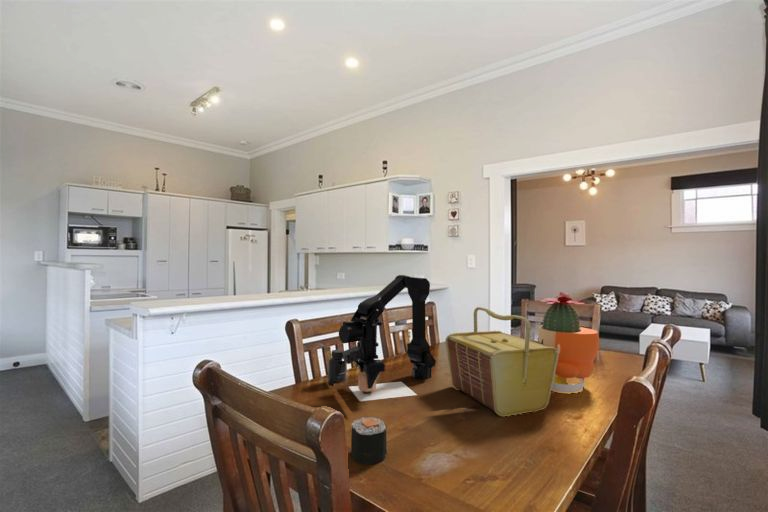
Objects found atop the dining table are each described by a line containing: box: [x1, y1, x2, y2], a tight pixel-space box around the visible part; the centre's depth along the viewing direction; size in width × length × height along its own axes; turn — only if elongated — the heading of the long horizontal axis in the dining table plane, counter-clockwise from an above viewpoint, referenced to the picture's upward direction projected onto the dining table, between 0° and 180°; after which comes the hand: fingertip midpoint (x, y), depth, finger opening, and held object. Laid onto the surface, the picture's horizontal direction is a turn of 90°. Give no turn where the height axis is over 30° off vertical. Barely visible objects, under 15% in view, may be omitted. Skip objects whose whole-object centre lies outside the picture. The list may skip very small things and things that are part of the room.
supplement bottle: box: [327, 349, 348, 387], centre depth 143 cm, size 7×7×12 cm
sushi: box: [350, 416, 388, 466], centre depth 92 cm, size 8×8×8 cm
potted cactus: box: [537, 291, 601, 392], centre depth 147 cm, size 22×22×35 cm
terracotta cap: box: [357, 371, 377, 392], centre depth 130 cm, size 6×6×5 cm
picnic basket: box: [445, 306, 559, 418], centre depth 130 cm, size 29×26×30 cm
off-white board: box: [348, 381, 418, 402], centre depth 132 cm, size 20×14×2 cm
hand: (367, 385), depth 130 cm, fingers closed on terracotta cap, 5 cm apart
